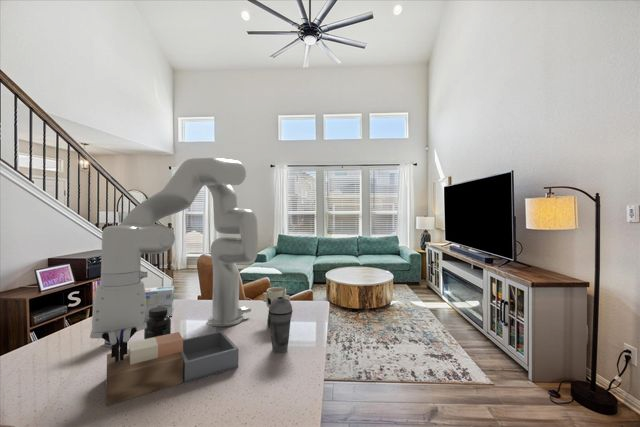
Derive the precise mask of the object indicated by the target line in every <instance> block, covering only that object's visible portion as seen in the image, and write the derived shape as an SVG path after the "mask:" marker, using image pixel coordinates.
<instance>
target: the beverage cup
mask: <svg viewBox="0 0 640 427" xmlns="http://www.w3.org/2000/svg"><path fill="white" fill-rule="evenodd" d="M286 285H287V283H286V282H284V283H283V287H282V288H283V295H282V297H278V298H276V299H274V300H273V301H272V302H271V304H270V307H269V308H268V313H269V317H270V324H271V326H270V338H271V347H272V352H274V353H277V354H281V353H285V352H287V351H288V347H289V341H290V339H289V338H290V330H291V319H292V315H293V312H294V311H293V305H292V303H291V300H290V301H289V300H288V298H284V294H285V289H286V287H287V286H286Z"/></svg>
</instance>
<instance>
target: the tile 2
mask: <svg viewBox="0 0 640 427" xmlns="http://www.w3.org/2000/svg"><path fill="white" fill-rule="evenodd" d="M155 338H156V341H157V344H158V357H162V356H167V355H171V354H175V353H179V352H183V339H184V338H183V337H182V334H181V333H180V332H179V331H178V332H173V333H172V332H171V334H167V335H162V336H157V337H155Z"/></svg>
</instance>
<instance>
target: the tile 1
mask: <svg viewBox="0 0 640 427" xmlns="http://www.w3.org/2000/svg"><path fill="white" fill-rule="evenodd" d="M128 349H129V360H130V365H131V364H135V363H139V362H143V361H147V360H151V359H155V358H158V344H157V341H156V338H155V337H153V338H148V339H144V338H143V339H139V340H135V341H128Z"/></svg>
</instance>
